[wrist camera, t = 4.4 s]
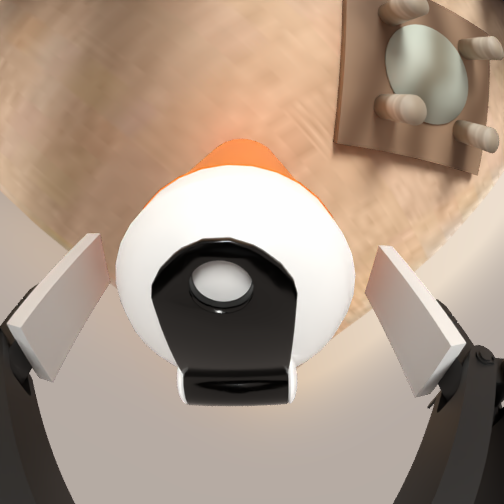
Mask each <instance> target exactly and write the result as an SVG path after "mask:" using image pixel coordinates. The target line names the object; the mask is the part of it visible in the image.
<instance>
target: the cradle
mask: <svg viewBox="0 0 504 504" xmlns="http://www.w3.org/2000/svg"><path fill="white" fill-rule="evenodd" d="M503 57H504V51H503V48H502V45H501V43H500V42H499V40H498V39H497V38H495V37H494V36H489V37H488V34H487V33H486V32H484V31H483V30H481V29H480V28H478V27H477V26H475V25H474V24H472V23H470V22H469V21H467V20H466V19H464V18H462V17H461V16H459V15H457V14H456V13H454V12H452V11H450V10H448V9H447V8H445V7H443V6H441V5H439V4H437V3H435V2H433V1H431V0H343V11H342V43H341V62H340V77H339V90H338V102H337V112H336V122H335V131H334V140H333V142H335V143H337V144H344V145H351V146H357V147H363V148H369V149H374V150H379V151H385V152H390V153H394V154H399V155H404V156H408V157H413V158H417V159H421V160H425V161H429V162H433V163H437V164H440V165H444V166H448V167H451V168H455V169H458V170H461V171H465V172H468V173H471V174H474V175H477V176H478V171H479V166H480V161H481V156H482V150H484V151H487V152H489V153H494V152H495V151H496V150H497V149H498V146H499V136H498V133H497V131H496V130H495V129H494V128H491V127H487V126H486V122H487V112H488V100H489V75H490V63H489V60H502V59H503Z"/></svg>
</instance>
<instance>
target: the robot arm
mask: <svg viewBox="0 0 504 504" xmlns="http://www.w3.org/2000/svg"><path fill="white" fill-rule="evenodd" d="M109 284H110V278H109V274H108V269H107V265H106V260H105V255H104V250H103V245H102V240H101V235H100V233H87V234H86V235H85V236H84V237H83V238H82V239H81V240H80V241H79V242H78V243H77V244H76V245H75V246H74V247H73V248H72V249H71V250H70V251H69V252H68V253H67V254H66V255H65V256H64V257H63V258H62V259H61V260H60V261H59V262H58V263H57V264H56V265H55V266H54V268H53V269H52V270H51V271H50V272H49V273H48V274H47V275H46V276H45V278H44V279H43V280H42V281H41V282H40V283H39V284H37V285H36V286H34V287H33V288H32V289H30V290H29V291H28V292H27V293H26V295H25V296H24V297H23V299H22V300H21V301H20V302H19V303H18V305H17V306H16V307H15V308H14V309H13V310H12V312H11V313H10V314H9V315H8V317H7V318H6V319H5V321H4V322H3V323H2V325H1V326H0V504H75V503H74V501H73V499H72V497H71V495H70V493H69V491H68V489H67V486H66V484H65V482H64V480H63V478H62V475H61V473H60V471H59V468H58V465H57V463H56V460H55V458H54V455H53V452H52V449H51V447H50V444H49V441H48V438H47V435H46V432H45V428H44V425H43V421H42V418H41V414H40V411H39V407H38V403H37V399H36V394H35V390H34V385H33V380H32V378H31V376H30V374H29V372H30V370H31V369H32V368H33V369H34V371H35V373H36V374H37V376H38V377H39V378H42V379H44V380H47V381H51V382H54V380H55V378H56V375H57V374H58V372H59V370H60V368H61V366H62V364H63V362H64V360H65V358H66V356H67V354H68V353H69V351H70V349H71V347H72V345H73V343H74V342H75V340H76V338H77V336H78V335H79V333H80V331H81V329H82V328H83V326H84V324H85V322H86V321H87V319H88V317H89V316H90V314H91V312H92V311H93V309H94V307H95V306H96V304H97V303H98V301H99V299H100V298H101V296H102V295H103V293H104V291H105V290H106V288H107V287H108V285H109ZM365 294H366V296H367V298H368V300H369V302H370V304H371V306H372V308H373V309H374V311H375V313H376V315H377V317H378V319H379V321H380V323H381V325H382V327H383V329H384V331H385V333H386V335H387V337H388V339H389V341H390V343H391V345H392V348H393V350H394V352H395V354H396V356H397V358H398V360H399V362H400V365H401V367H402V369H403V371H404V374H405V376H406V378H407V380H408V383H409V385H410V387H411V390H412V392H413V394H414V397H419V396H423V395H428V394H430V393H431V392H432V391H433V390H434V388H435V387H436V386H437V384H438V385H439V387H440V389H441V391H440V392H439V393H438V394H437V396H436V397H435V398H434V399H433V400H432V401H431V403H430V404H429V405H428V408H430V407H431V406H432V405H433V404H434V408H433V411H432V414H431V417H430V420H429V423H428V426H427V429H426V431H425V434H424V437H423V440H422V442H421V445H420V448H419V450H418V452H417V455H416V457H415V460H414V462H413V464H412V466H411V469H410V471H409V473H408V475H407V477H406V479H405V482H404V484H403V486H402V488H401V490H400V492H399V493H398V495H397V497H396V499H395V501H394V503H393V504H504V407H503V408H502V405H501V402H502V401H503V400H504V359H500V358H495V357H494V355H493V354H492V352H491V351H490V350H489V349H487V348H485V347H484V346H480V345H476V346H474V345H473V343H472V342H471V340H470V339H469V337H468V336H467V334H466V333H465V332H464V330H463V329H462V327H461V326H460V325H459V323H457V320H456V319H455V318H454V316H452V314H451V312H450V311H449V310H448V308H447V307H446V306H445V305H444V304H443V303H441V302H440V301H439V300H437V299H435V298H434V297H433V295H432V294H431V293H430V292H429V290H428V289H427V288H426V286H425V285H424V284H423V283H422V281H421V280H420V279H419V278H418V276H417V275H416V274H415V273H414V272H413V270H412V269H411V268H410V267H409V265H408V264H407V263H406V262H405V261H404V260H403V258H402V257H401V256H400V255H399V254H398V252H397V251H396V250H395V249H394V248H393V247H392V246H381V245H379V246H378V250H377V254H376V257H375V261H374V264H373V268H372V271H371V274H370V278H369V281H368V284H367V287H366V290H365Z"/></svg>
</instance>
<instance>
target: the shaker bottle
mask: <svg viewBox="0 0 504 504" xmlns="http://www.w3.org/2000/svg"><path fill="white" fill-rule="evenodd" d="M354 284H355V269H354V263H353V257H352V253H351V251H350V248H349V246H348V244H347V241H346V239H345V237H344V235H343V233H342V231H341V230H340V228H339V227H338V225H337V224H336V222H335V221H334V219H333V217H332V215H331V213H330V212H329V211H328V209H327V208H326V207H325V205H324V204H323V203H322V202H321V200H320V199H319V198H318V197H317V196H316V195H315V194H313V193H312V192H311V191H310V190H309V189H307V188H306V187H305V186H304V185H302V184H301V183H300V182H298V181H296V180H295V179H294V178H293V176H292V175H291V174H290V173H289V172H288V171H287V169H286V168H285V167H284V166H283V165H282V164H281V162H280V161H279V160H278V159H277V158H276V157H275V156H274V154H273V153H272V152H271V151H270V150H269V149H268V148H267V147H265V146H264V145H262V144H260V143H258V142H256V141H252V140H248V139H236V140H231V141H228V142H225V143H223V144H222V145H220V146H218V147H217V148H216V149H214V150H213V151H212V152H211V153H210V154H209V155H207V156H206V157H205V158H204V159H203V160H202V161H200V162H199V163H198V164H197V165H196V166H195V167H194V168H192V169H191V170H190V171H189V172H188V173H187V174H184V175H182V176H179V177H178V178H176V179H175V180H173V181H172V182H170V183H169V184H167V185H166V186H164V187H163V188H161V189H160V190H159V191H158V192H157V193H156V194H155V195H154V196H153V197H152V198H151V200H150V201H149V202H148V203H147V204H146V205H145V206H144V208H143V210H142V211H141V212H140V214H139V215H138V216H137V217H136V218H135V219H134V221H133V222H132V223H131V224H130V226H129V228H128V230H127V231H126V233H125V235H124V237H123V239H122V241H121V243H120V247H119V251H118V255H117V260H116V285H117V289H118V293H119V297H120V301H121V303H122V305H123V308H124V310H125V312H126V315H127V316H128V318H129V320H130V322H131V324H132V326H133V328H134V330H135V331H136V333H137V334H138V335H139V337H140V338H141V339H142V340H143V342H144V343H145V344H146V345H147V346H148V347H149V348H151V349H152V350H153V351H154V352H155V353H156V354H157V355H159V356H160V357H162V358H164V359H165V360H167V361H168V362H169V363H171V364H173V365H175V366H177V367H178V369H177V388H178V393H179V395H180V398H181V400H182V401H183V402H184V403H185V404H189V405H203V406H257V405H278V404H287V403H288V402H289V403H291V402H293V400H294V398H295V395H296V391H297V370H296V367H297V366H299V365H301V364H303V363H305V362H306V361H308V360H309V359H310V358H312V357H313V356H314V355H316V354H317V353H318V352H319V351H321V350H322V348H323V347H324V346H325V345H326V344H327V343H328V342H329V341H330V340H331V339H332V337H333V336H334V334H335V332H336V331H337V329H338V327H339V326H340V324H341V322H342V321H343V319H344V317H345V316H346V314H347V312H348V309H349V306H350V303H351V300H352V297H353V294H354Z"/></svg>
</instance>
